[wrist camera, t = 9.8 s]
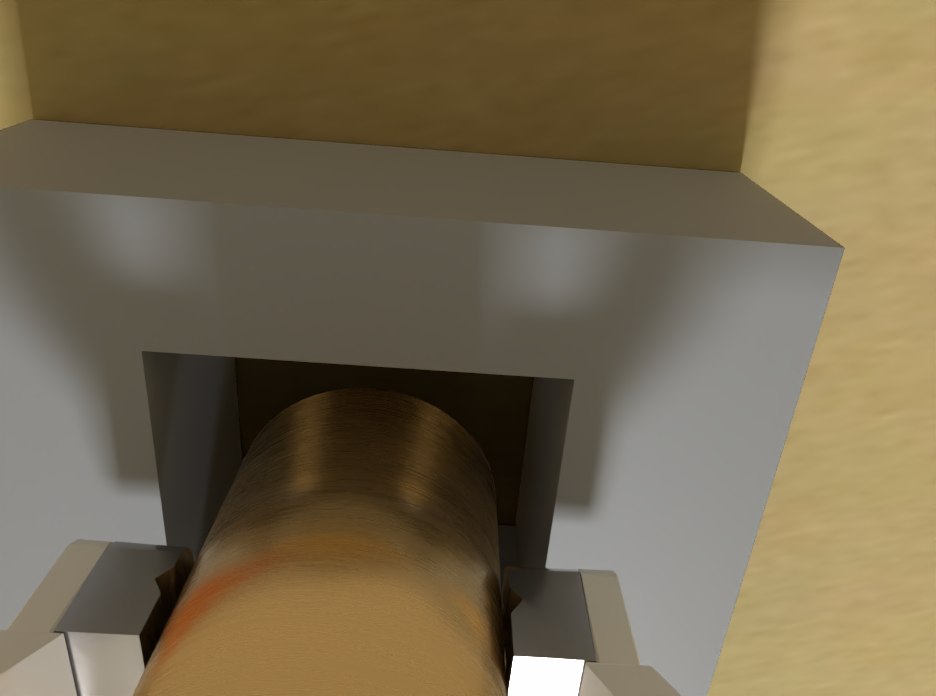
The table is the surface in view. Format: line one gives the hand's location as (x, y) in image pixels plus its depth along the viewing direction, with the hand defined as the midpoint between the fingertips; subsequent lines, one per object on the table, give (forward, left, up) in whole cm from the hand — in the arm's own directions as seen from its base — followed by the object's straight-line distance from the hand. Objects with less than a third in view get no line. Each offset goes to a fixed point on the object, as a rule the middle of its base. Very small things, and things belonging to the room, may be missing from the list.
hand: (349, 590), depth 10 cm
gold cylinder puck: (0, 0, -2) cm, 2 cm away
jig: (0, +3, -5) cm, 6 cm away
